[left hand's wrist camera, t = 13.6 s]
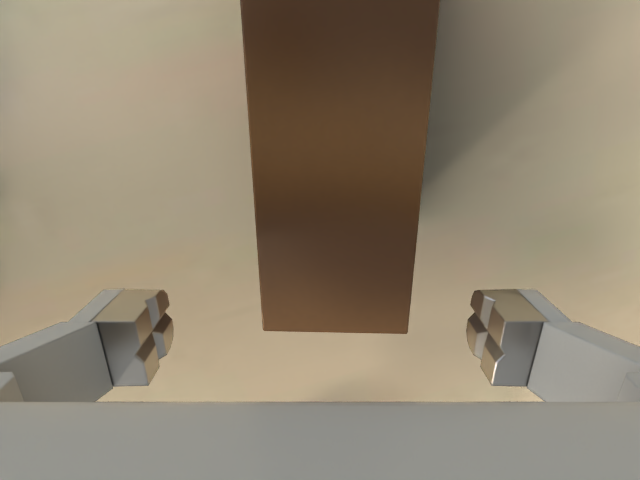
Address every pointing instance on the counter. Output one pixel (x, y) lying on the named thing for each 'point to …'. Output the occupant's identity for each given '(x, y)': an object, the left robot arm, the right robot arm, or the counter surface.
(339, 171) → the box
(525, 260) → the counter surface
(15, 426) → the left robot arm
